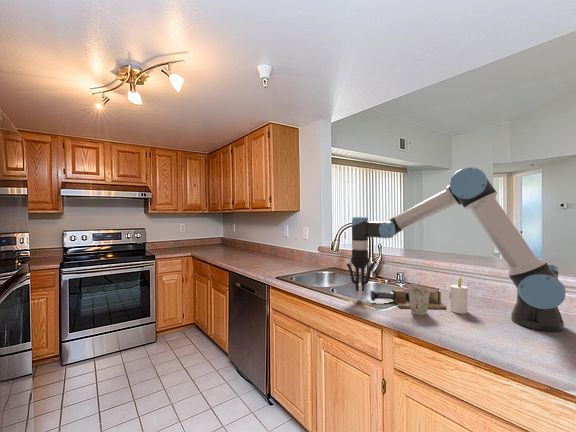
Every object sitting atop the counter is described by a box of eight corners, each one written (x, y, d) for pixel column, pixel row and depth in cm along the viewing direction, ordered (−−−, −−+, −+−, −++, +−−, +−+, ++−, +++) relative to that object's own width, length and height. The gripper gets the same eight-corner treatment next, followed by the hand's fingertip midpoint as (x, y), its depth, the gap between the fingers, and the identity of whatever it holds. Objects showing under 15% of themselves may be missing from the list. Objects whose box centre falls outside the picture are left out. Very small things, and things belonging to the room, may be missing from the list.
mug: (428, 310, 124) (428, 287, 124) (432, 321, 112) (432, 295, 112) (407, 308, 126) (407, 286, 126) (409, 318, 115) (409, 293, 114)
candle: (450, 307, 128) (450, 273, 128) (467, 310, 124) (468, 275, 124) (448, 311, 123) (449, 276, 123) (466, 314, 119) (466, 278, 119)
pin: (418, 302, 134) (418, 292, 134) (372, 301, 135) (372, 291, 135) (414, 299, 139) (414, 289, 139) (370, 298, 140) (370, 289, 140)
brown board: (449, 309, 126) (449, 296, 126) (399, 308, 127) (399, 296, 127) (429, 295, 146) (429, 285, 145) (387, 295, 147) (387, 284, 147)
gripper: (371, 248, 141) (371, 295, 141) (345, 247, 142) (345, 295, 142) (375, 250, 134) (375, 300, 134) (347, 249, 134) (347, 300, 135)
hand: (359, 297), depth 138 cm, fingers closed
